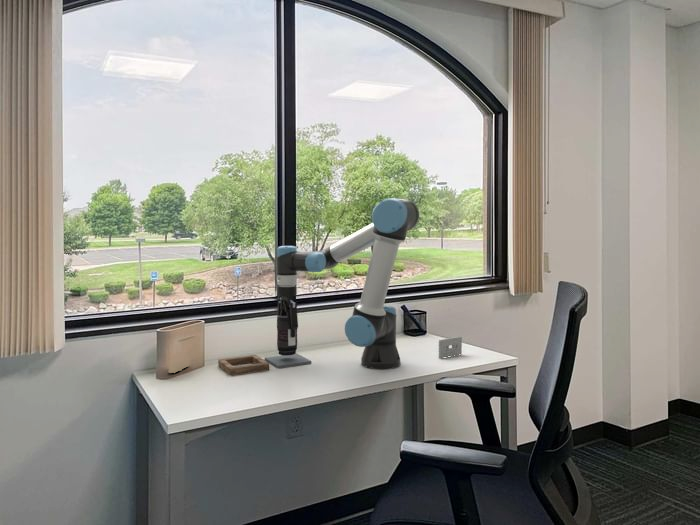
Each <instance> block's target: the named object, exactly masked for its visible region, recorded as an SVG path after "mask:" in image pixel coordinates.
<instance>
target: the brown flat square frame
mask: <svg viewBox="0 0 700 525" xmlns="http://www.w3.org/2000/svg"><path fill="white" fill-rule="evenodd" d="M217 360H218V362H217V363H218V367H219V368H220V367H221V368H220V369H221V370H222V371H224V372H225V371H226V372H227V373H226V372H225V373H226V374H227V375H229V376H230V375H232V376H237V375H238V374H239V375H245V374H252V373H258V372H266V371H270V363H268V362H267V361H265V359H263V358H261V357H260V356H258V355H257V354H249V355H242V356H237V357H236V356H235V357H228V358H221V359H217ZM239 364H240V365H239Z"/></svg>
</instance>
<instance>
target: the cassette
mask: <svg viewBox="0 0 700 525" xmlns="http://www.w3.org/2000/svg"><path fill="white" fill-rule="evenodd" d="M462 342H463V338H462V336H455V337H449V338H448V337H447V338H442V339H439V340H438V359H439V358H442V357H448V356H454V355H459V354H461V355H462V354H463V353H462V352H463V351H462V347H463V345H462V344H463V343H462ZM459 356H460V355H459ZM442 359H443V358H442Z"/></svg>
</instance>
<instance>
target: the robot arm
mask: <svg viewBox="0 0 700 525" xmlns="http://www.w3.org/2000/svg"><path fill="white" fill-rule="evenodd" d="M419 220H420V211H419V208H418V206H417V204H416V203H414V202H413V201H412V200H411V199H407V198H396V197H395V198H394V197H389V198H386V199H382V200H380V201H379V202H378V203H377V204H376V205H375V206H374V208H373V210H372V213H371V221H372V222H371V223H370V224H368V225H366V226H364V227H363V228H361V229H359V230H357V231H355V232H354V233H352V234H350V235H347V236H346V237H344V238H342V239H341V240H339V241H337V242H335V243H333V244H332V245H330V246H328V247H326V248H324V249H322V250H315V251H298V249H297V247H296V246H295V245H281V246H278V247H277V249H276V251H277V252H276V264H277V266H276V269H277V272H276V273H277V274H276V275H277V277H276V280H277V283H276V284H277V285H278V286H276V288H277V289H276V291H277V292H276V294H277V296H278V298H277V316H276V318H277V317H278V316H279V315H281V316H284V315H287V318H288V324H289V328H287V329H288V346H293V345H295V329H296V328H297V329H298V328H299V322H298V321H299V319H298V302H295V301H294V297H296V296H297V294H298V292H297V291H298V290H297V289H298V287H297V284H298V282H297V281H298V278H297V277H298V276H297V273H298V272H307V273H322V272H323V271H324V270H329V269H333V268H336V267H337V265H339V264H340V263H341V262H343V261H345V260H347V259H349V258H351V257H353V256H355V255H356V254H359V253H360V252H362V251H364V250H366V249H368V248H370V247H371V246H373V248H372V251H371V256H370V259H369V260H370V261H369V265H368V268H367V272H366V276H365V281H364V284H363V288H362V292H361V296H360V300H359V302H357V303H355V305H354V307H353V312H352V315H351V316H350V317H349V318H348V319H347V320H346V322H345V323H344V334H345V336H346V338H347V340H348V341H349V342H350V343H351V344H353V345H354V346H356V347H359V348H363V352H362V356H361V358H360V359H361V361H360V364H361V365H362V367H365V368H367V369H368V368H369V369H374V370H388V369H390V368H391V369H396V368H398V367H400V366H401V357H400V354H399V351H398V347H397V309H396V307H395V306H393V305H385V300H386V298H387V295H388V294H387V293H388V290H389V286H390V282H391V278H392V274H393V270H394V267H395V262H396V259H397V255H398V250H399V246H400V245H401V244H402V243H403V242H405V241H406V238H407V234H408V231H410V230H412V229H414V228H415V227H416V226H417V224H418V222H419ZM279 297H280V298H279ZM399 365H400V366H399Z"/></svg>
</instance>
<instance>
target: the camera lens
mask: <svg viewBox="0 0 700 525" xmlns="http://www.w3.org/2000/svg"><path fill="white" fill-rule="evenodd" d="M287 328H289V324H288V318H287V315H284V316H281V315H279V316H278V317H277V316H276V330H277V332H276V333H277V334H276V336H277V337H276V338H277V341H276V348H277V351H278V355H279V356H281V355H283V356H289V355H294V354H296V353H297V349H298V328H296V329H295V345H293V346H288V329H287Z"/></svg>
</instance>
